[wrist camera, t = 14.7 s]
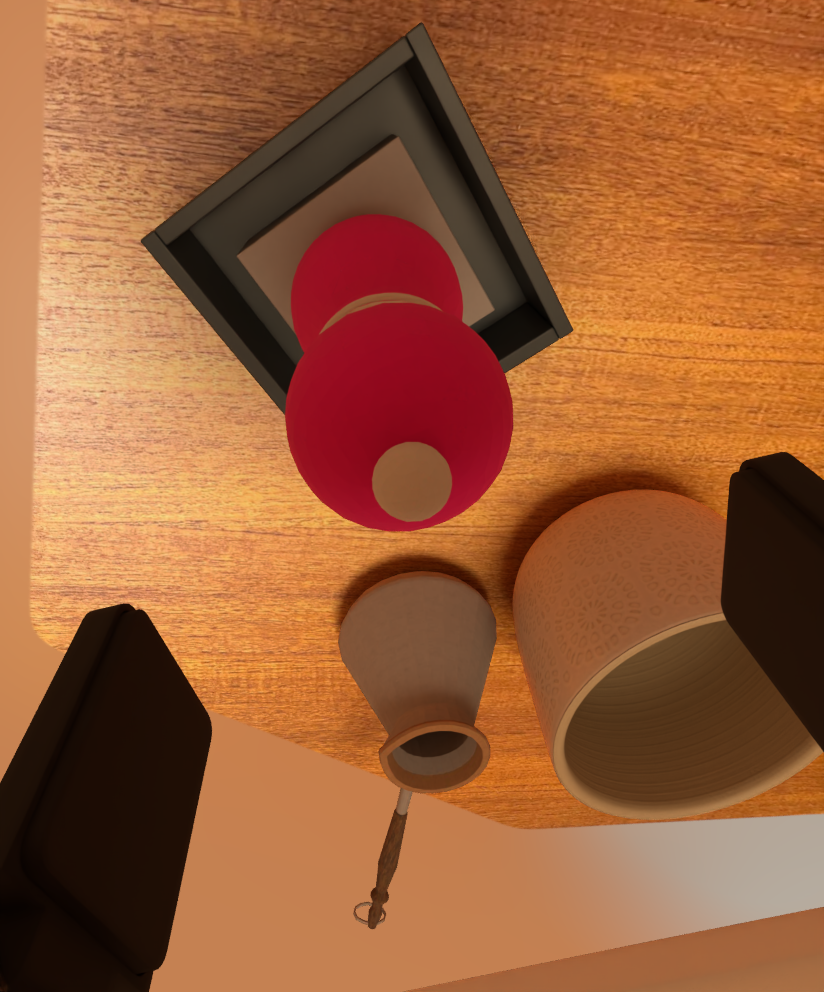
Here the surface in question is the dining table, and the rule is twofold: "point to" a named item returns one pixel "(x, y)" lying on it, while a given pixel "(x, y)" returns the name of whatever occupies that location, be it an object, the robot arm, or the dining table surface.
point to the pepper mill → (391, 380)
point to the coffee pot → (420, 689)
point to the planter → (647, 663)
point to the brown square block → (352, 192)
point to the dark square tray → (319, 157)
